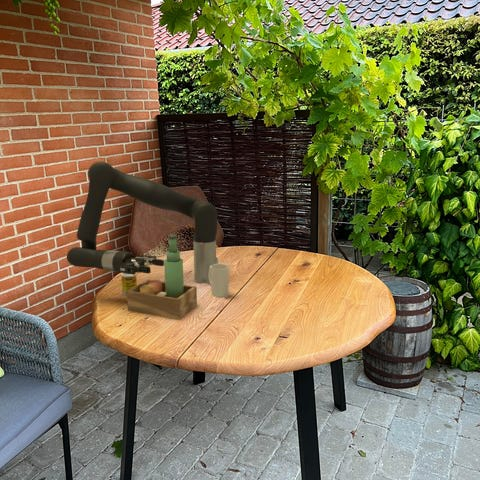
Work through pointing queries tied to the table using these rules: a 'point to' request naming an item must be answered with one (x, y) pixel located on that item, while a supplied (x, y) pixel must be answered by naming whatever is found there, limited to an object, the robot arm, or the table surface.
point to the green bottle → (173, 270)
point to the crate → (160, 300)
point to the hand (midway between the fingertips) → (156, 266)
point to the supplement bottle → (128, 282)
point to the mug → (219, 279)
